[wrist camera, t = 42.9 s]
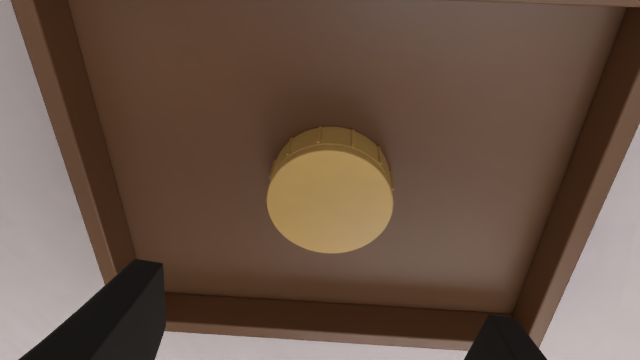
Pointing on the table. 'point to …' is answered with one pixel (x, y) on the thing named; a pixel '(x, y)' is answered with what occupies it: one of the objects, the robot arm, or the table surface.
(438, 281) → the tray
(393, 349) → the table surface
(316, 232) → the cap
